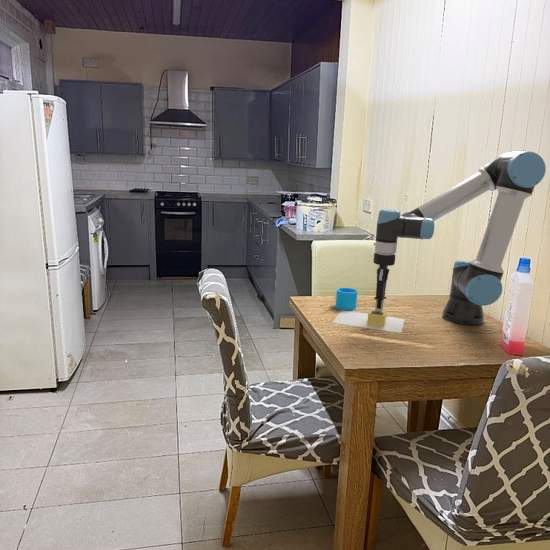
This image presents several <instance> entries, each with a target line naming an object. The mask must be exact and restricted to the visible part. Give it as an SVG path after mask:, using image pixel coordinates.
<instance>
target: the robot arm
mask: <svg viewBox="0 0 550 550" xmlns="http://www.w3.org/2000/svg"><path fill="white" fill-rule="evenodd" d="M546 168H547V167H546V162H545V160H544V159H543V158H542V156H541V155H539V154H538V153H536V152H535V151H530V150H524V149H523V150H517V151H508V152H504V153H503V154H501V155H499V156H498V157H497V156H496V158H494V159H493V160H491V161H490V162H488V163H486V164H485V165H483V166H481V167H480V168H479V169H478V172H477V173H475V174H473V175H472V176H470V177H468V178H466V179H465V180H463V181H461V182H459V183H458V184H455V185H454V186H452V187H450V188H449V189H448V190H446V191H443V192H442V193H440V194H439V195H437V196H435V197H433V198H431V199H430V200H428V201H426V202H424V203H423V204H421V205H420V206H418V207H416V208H414V209H412V210H411V211H409V212H407V211H406V212H404V213H402V214H401V210H398V209H389V208H387V209H380V210H379V211H378V216H377V221H376V231H375V232H376V233H375V242H374V243H373V246H374V253H373V261H372V262H373V263H374V264H375V265H379V267H378V268H377V269H376V274H377V275H376V289H375V297H374V298H373V299H374V300H375V305H374V306H375V307H374V310H379V311H384V306H385V305H384V304H385V303H384V302H385V300H387V296H386V289H387V288H386V287H387V281H388V280H389V278H388V277H389V273H390V269H389V268H388V266H389V267H390V266H394V265H395V263H396V253H397V247H398V239H399V238H403V239H413V240H414V239H418V240H431V239H432V238H433V236H434V234H435V233H434V232H435V221H437V220H438V219H440V218H442V217H443V216H445V215H447V214H450V213H451V212H453V211H455V210H456V209H458V208H460V207H461V206H464V205H465V204H467V203H468V202H470V201H473V200H474V199H475V198H478V197H480V196H481V195H482V194H483V195H484V194H485V193H486V192H488V191H490V192H493V191H496V190H497V191H498V194H497V197H496V200H495V203H494V205H493V208H492V210H491V214H490V217H489V220H488V224H487V226H486V227H485V232H484V234H483V238H482V240H481V243H480V246H479V249H478V252H477V254H476V258H475V259H473V260H456V261H454V264H453V267H452V275H451V283H450V284H451V285H450V291H449V293H450V294H449V297H448V300H447V302H446V304H445V306H444V308H443V309H442V318H443V319H445V320H446V321H449V322H452V323H455V324H458V325H459V324H460V325H467V326H477V325H481V324H483V323H484V318H485V314H484V308H483V307H486V306H490V305H492V304H494V303H496V302H498V300H499V298H501V296H502V294H503V285H502V282H501V281H502V278H503V275H504V274H505V272H504V271H505V270H503V267H502V264H503V262H504V259H505V256H506V253H507V251H508V247H509V245H510V242H511V239H512V237H513V233H514V231H515V227H516V224H517V222H518V220H519V217H520V213H521V211H522V208H523V205H524V202H525V200H526V199H528V198H530V197H531V196H532V195H533V192H534V190H535V187H536V186H537V185H538V184H540V183H541V182H542V180H543V179H544V177H545V174H546Z"/></svg>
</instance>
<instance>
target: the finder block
mask: <svg viewBox="0 0 550 550" xmlns="http://www.w3.org/2000/svg"><path fill="white" fill-rule="evenodd" d="M367 314H368V321H367V324H368V325H375V326H381V327H384V326H385V324H386V319H387V317H388V311H384V310H383V311H379V310H375V309H370V310H369V311H368V313H367Z"/></svg>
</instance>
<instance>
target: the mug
mask: <svg viewBox="0 0 550 550" xmlns="http://www.w3.org/2000/svg"><path fill="white" fill-rule="evenodd" d="M335 295H336V297H335V308H336V309H339V310H343V311H354V310H356V309H357V305H358V304H357V302H358V290H357V289H355V288H350V287H339V288H336V294H335Z"/></svg>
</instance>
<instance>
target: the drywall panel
mask: <svg viewBox="0 0 550 550" xmlns="http://www.w3.org/2000/svg"><path fill="white" fill-rule="evenodd" d="M367 321H368V313H364V312H356V311H352V310H342V309H340V312H339V313H338V315H337V316H336V317H335V319H334V320H333V321H332V324H338V325H345V326H351V327H358V328H363V329H364V328H365V329H371V330H372V329H373V330H378V331H384V332H391V333H399V334H402V330H403V326H404V323H405V318H398V317H393V316H392V317H391V316H387V319H386V324H385V326H384V327H381V326H375V325H368V324H367Z"/></svg>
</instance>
